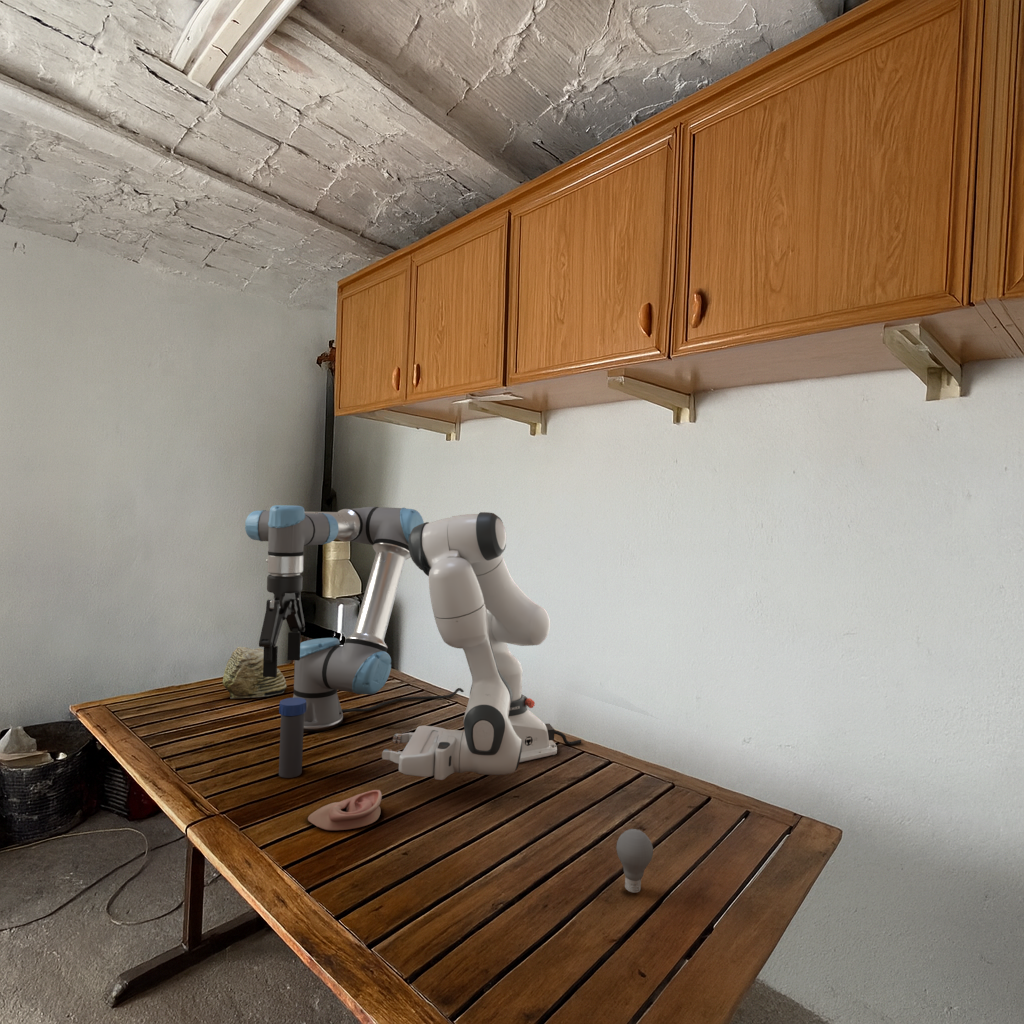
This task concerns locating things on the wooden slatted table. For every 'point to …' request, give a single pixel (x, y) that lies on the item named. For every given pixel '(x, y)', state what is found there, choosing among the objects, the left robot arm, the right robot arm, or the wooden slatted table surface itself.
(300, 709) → the lid
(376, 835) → the wooden slatted table surface
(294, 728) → the grey bottle
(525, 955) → the wooden slatted table surface
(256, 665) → the fossil
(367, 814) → the anatomical model
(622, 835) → the light bulb
